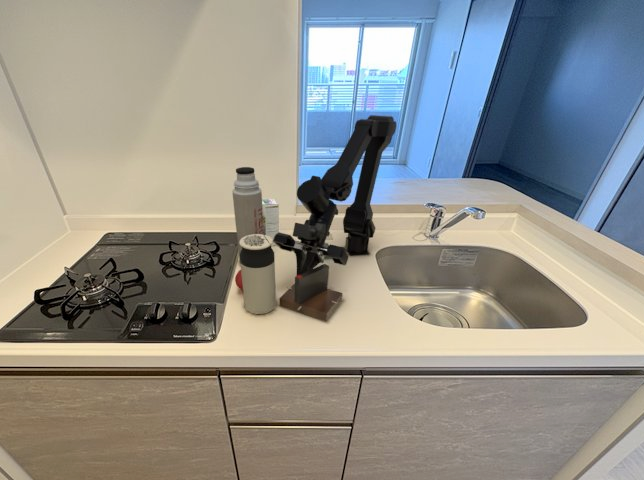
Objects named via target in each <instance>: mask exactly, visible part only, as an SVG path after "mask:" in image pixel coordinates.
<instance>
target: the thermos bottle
mask: <svg viewBox="0 0 644 480" xmlns="http://www.w3.org/2000/svg"><path fill="white" fill-rule="evenodd" d="M235 173H236V180H235V181H233V187H234V188H233V189H232V191H231V192H232V202H233V211H234V221H235V230H236V239H237V240H236V241H237V249H238V250H237V251H238V260H239V262H240V252H241V250H242V247H241V245H240V243H239V242H240V240H241V239H242V238H243V237H245V236H248V235H253V234H262V235H264V230H263V210H262V199H263V196H262V195H263V193H262V192H263V191H262V188H260V184H259V180H258V179H256V174H255V168H254V167H250V166H241V167H237V168H235ZM239 265H240V266H241V264H240V263H239Z"/></svg>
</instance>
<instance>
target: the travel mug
mask: <svg viewBox="0 0 644 480" xmlns="http://www.w3.org/2000/svg"><path fill="white" fill-rule="evenodd" d="M239 243H240V245H241V247H242V250H241V252H240V261H239V265H240V264H241V265H240V270H241V274H242V284H243V290H242V292H243V293H242V294H243V304H244V308H245V310H246V311H247V312H249V313H251V314H255V315H264V314H268V313H270V312H272V311H273V310H274V309H275V308H276V306H277V296H276V294H277V293H276V292H277V291H276V263H275V259H276V258H275V251H274V250H273V248H272V246H273V245H272V243H273V240H272V238H271V237H269V236H267V235H262V234H253V235H248V236H245V237H243V238H242V239H241V240H240V242H239Z"/></svg>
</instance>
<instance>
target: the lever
mask: <svg viewBox="0 0 644 480" xmlns="http://www.w3.org/2000/svg"><path fill="white" fill-rule="evenodd" d="M329 275H330V265H328V264H326V263H322V264H320V265H319V266H318V265H317V266H315V267H314V268H313V269H312V270H309V271H307V272H305V273H303V274H301V275H297V274H296V276H295V277H294V284H295V302H296V303H298V304H300V303H302V302H304V301H306V300H308V299H310V298H312V297H314V296H316V295H318V294H319V293H321V292H323V291H325V290H327V289H328V287H329Z"/></svg>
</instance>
